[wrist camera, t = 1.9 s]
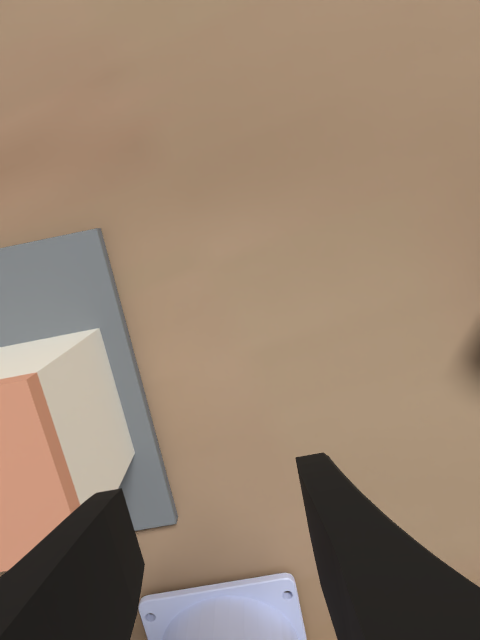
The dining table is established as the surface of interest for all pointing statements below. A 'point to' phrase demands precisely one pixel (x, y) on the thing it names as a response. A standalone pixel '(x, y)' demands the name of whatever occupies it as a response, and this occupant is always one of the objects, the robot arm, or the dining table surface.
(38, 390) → the cube
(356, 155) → the dining table surface
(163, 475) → the mat
